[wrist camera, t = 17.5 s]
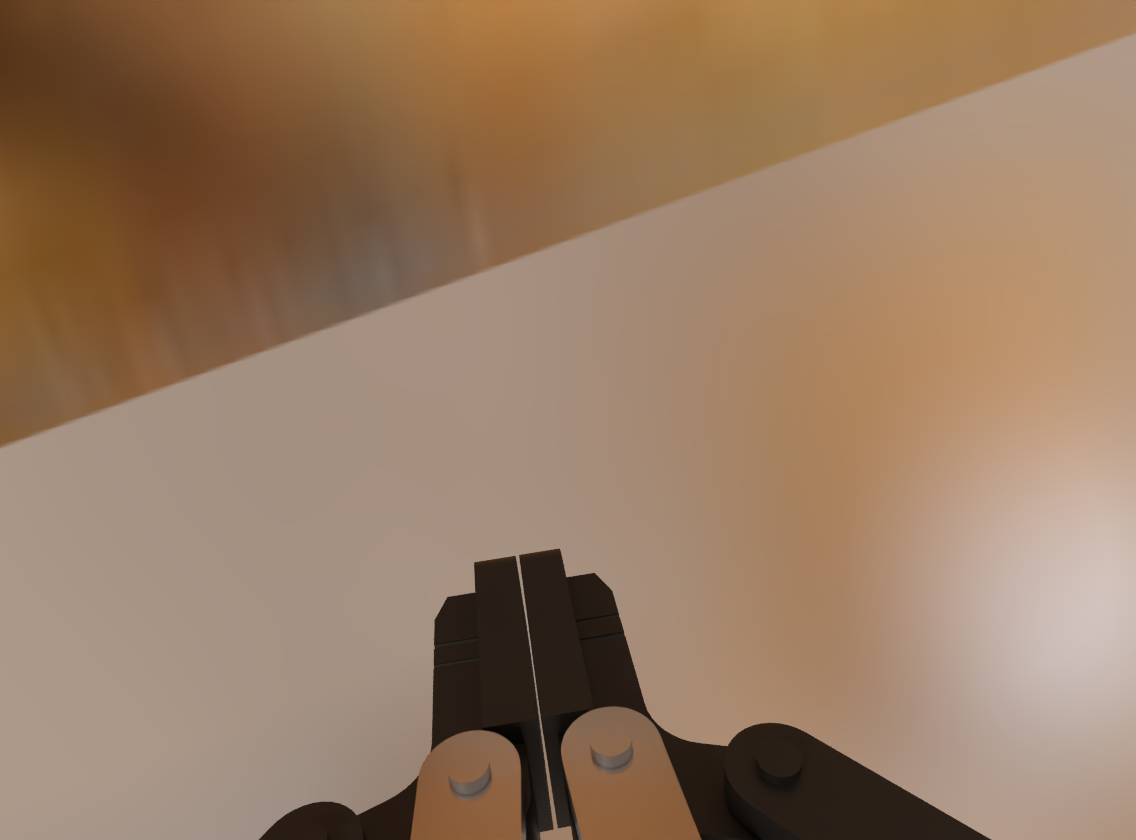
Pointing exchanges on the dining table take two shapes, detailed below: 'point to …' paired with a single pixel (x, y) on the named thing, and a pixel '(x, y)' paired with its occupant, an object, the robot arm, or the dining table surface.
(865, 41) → the dining table surface
